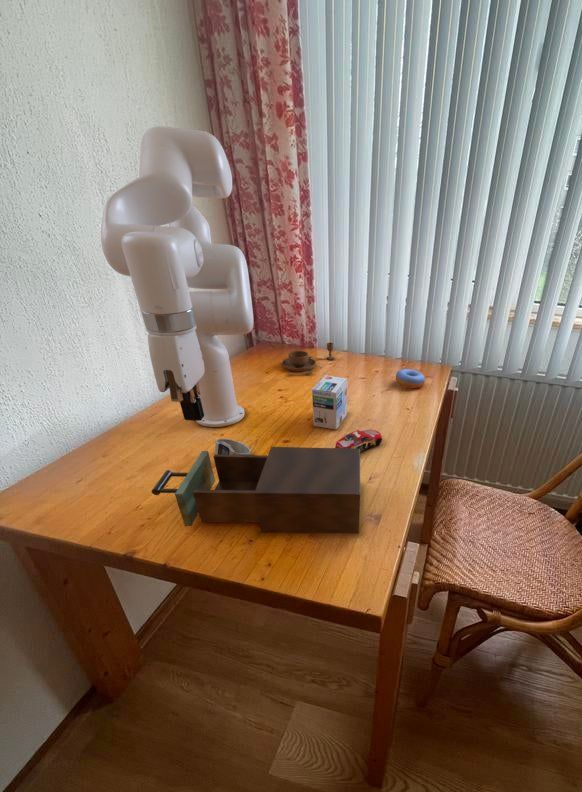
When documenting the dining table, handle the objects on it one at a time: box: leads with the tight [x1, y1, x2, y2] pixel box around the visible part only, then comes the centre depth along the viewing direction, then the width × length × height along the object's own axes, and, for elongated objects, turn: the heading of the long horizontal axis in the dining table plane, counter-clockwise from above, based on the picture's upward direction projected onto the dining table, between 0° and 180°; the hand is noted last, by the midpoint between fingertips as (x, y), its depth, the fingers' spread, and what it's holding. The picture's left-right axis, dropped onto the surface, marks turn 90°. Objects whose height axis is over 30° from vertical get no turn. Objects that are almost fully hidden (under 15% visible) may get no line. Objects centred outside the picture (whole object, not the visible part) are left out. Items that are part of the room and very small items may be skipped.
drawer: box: [151, 450, 268, 527], centre depth 72 cm, size 23×14×7 cm, turn 93°
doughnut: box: [395, 368, 426, 389], centre depth 130 cm, size 10×10×5 cm
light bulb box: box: [311, 375, 348, 430], centre depth 104 cm, size 11×7×11 cm, turn 168°
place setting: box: [281, 342, 335, 376], centre depth 138 cm, size 18×20×6 cm
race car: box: [334, 429, 383, 453], centre depth 95 cm, size 13×5×4 cm, turn 133°
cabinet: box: [254, 446, 361, 534], centre depth 74 cm, size 18×15×9 cm
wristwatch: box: [214, 438, 252, 455], centre depth 87 cm, size 9×6×5 cm
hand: (194, 418), depth 73 cm, fingers closed
